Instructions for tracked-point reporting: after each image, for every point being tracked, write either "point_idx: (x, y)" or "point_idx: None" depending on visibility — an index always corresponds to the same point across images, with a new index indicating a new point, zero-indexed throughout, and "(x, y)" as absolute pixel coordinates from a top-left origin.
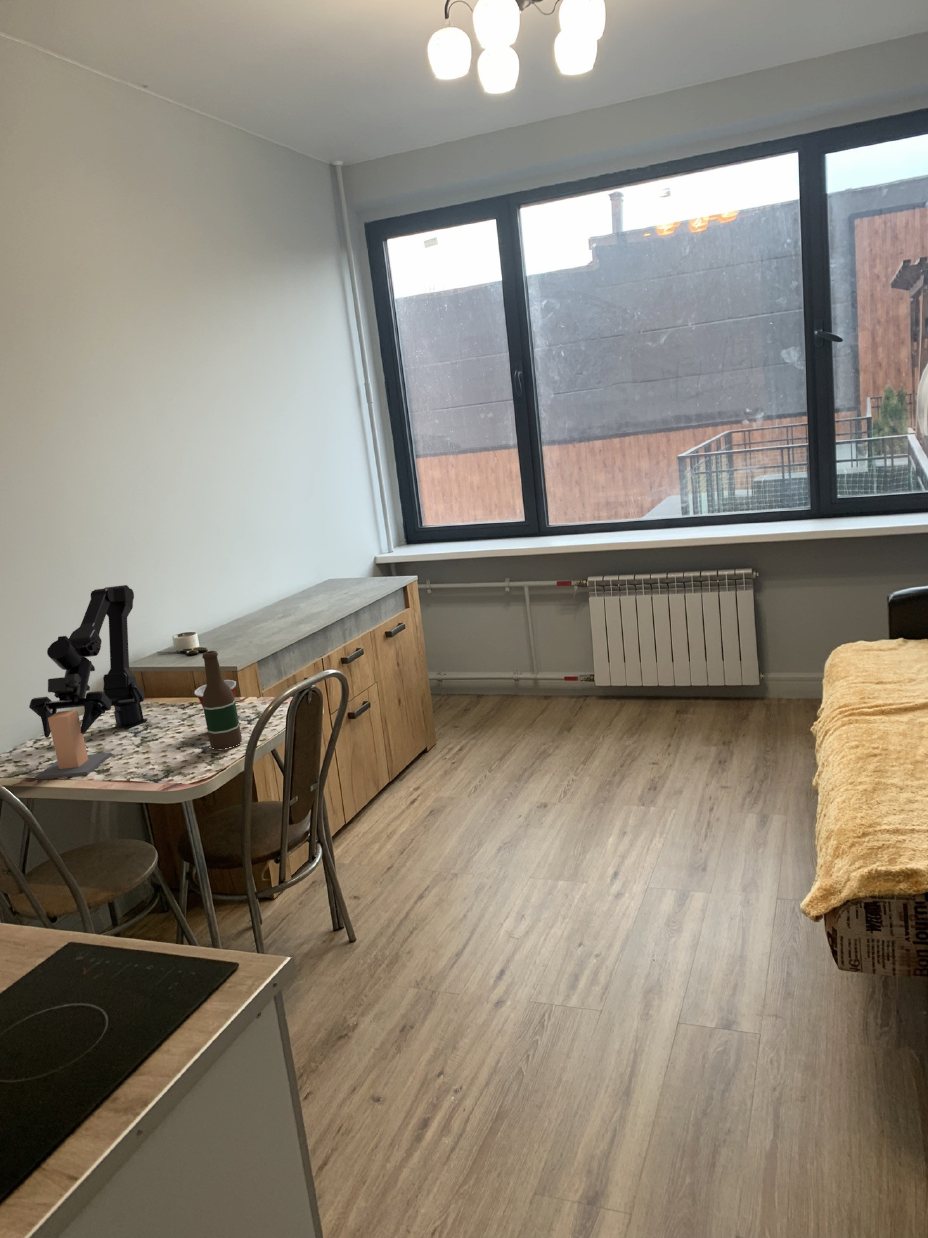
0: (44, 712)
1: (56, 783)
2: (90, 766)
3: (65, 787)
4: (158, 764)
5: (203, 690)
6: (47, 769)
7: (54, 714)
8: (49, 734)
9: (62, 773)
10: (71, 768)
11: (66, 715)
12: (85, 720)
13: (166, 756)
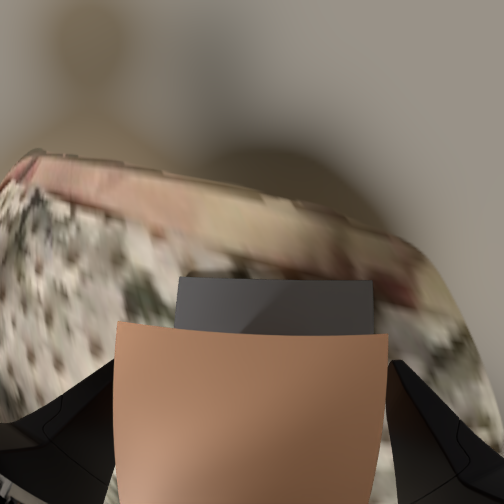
0: (486, 485)
1: (265, 228)
2: (185, 329)
3: (216, 190)
4: (31, 295)
5: None
6: None
7: (362, 477)
8: (386, 401)
9: (271, 285)
10: (258, 333)
11: (141, 363)
12: (74, 387)
13: (27, 349)
